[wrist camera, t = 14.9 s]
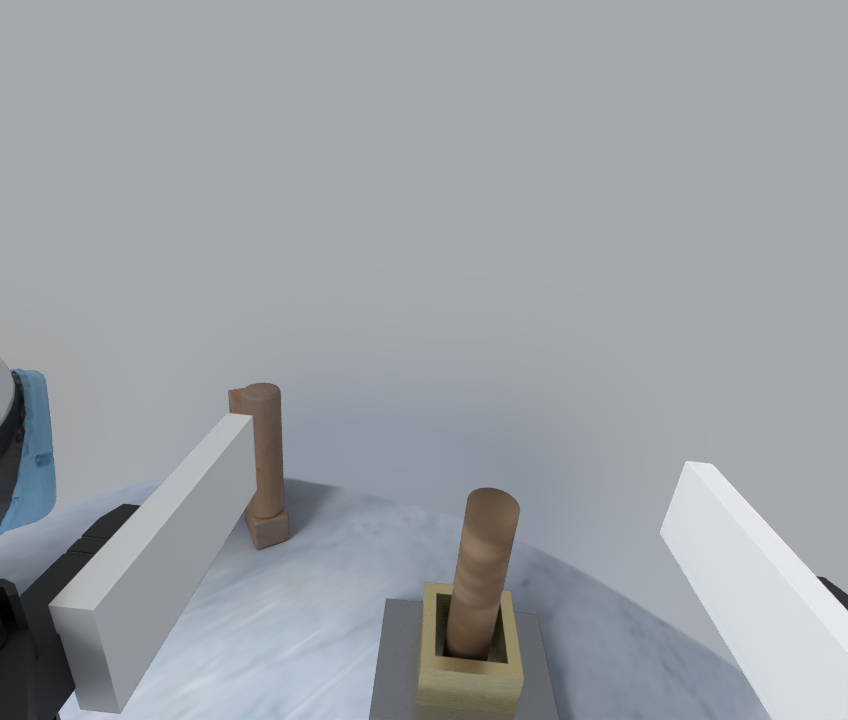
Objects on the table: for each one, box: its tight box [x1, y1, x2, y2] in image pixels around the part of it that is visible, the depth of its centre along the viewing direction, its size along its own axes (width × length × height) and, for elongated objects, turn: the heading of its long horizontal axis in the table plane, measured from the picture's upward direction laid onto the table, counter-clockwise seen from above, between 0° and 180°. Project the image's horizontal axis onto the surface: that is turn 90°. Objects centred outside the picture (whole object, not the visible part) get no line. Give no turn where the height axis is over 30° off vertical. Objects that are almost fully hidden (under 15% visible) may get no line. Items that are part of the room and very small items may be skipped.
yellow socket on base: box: [369, 582, 559, 720], centre depth 37 cm, size 14×10×6 cm
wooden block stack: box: [228, 383, 289, 550], centre depth 49 cm, size 4×11×18 cm, turn 32°
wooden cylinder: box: [442, 488, 520, 661], centre depth 34 cm, size 4×4×16 cm
